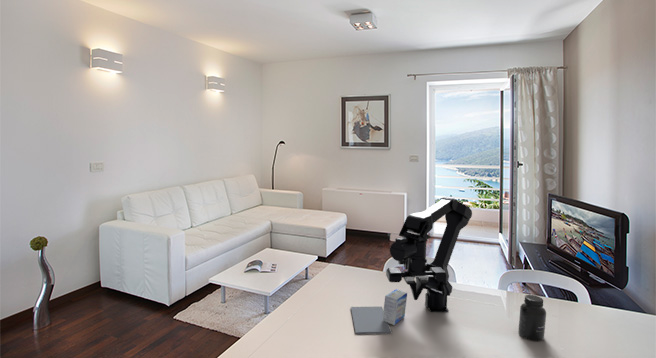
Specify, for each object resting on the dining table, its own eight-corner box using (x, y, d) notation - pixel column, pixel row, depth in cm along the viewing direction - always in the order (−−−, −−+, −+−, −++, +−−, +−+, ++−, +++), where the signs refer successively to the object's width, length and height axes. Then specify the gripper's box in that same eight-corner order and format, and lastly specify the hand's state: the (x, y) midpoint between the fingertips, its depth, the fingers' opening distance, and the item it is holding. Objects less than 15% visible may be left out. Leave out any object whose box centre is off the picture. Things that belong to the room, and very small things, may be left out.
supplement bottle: (544, 344, 101) (547, 305, 99) (517, 337, 104) (520, 299, 103) (544, 333, 106) (547, 296, 105) (518, 327, 110) (521, 291, 109)
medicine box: (394, 326, 110) (397, 300, 109) (381, 320, 112) (384, 295, 111) (404, 317, 116) (407, 292, 115) (392, 312, 119) (395, 288, 118)
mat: (381, 308, 122) (381, 306, 122) (391, 333, 106) (391, 331, 106) (350, 308, 122) (350, 306, 122) (355, 334, 106) (355, 332, 106)
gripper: (436, 245, 120) (435, 288, 122) (383, 246, 119) (382, 289, 121) (448, 256, 109) (446, 303, 111) (390, 257, 108) (389, 304, 110)
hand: (415, 299), depth 114 cm, fingers closed
